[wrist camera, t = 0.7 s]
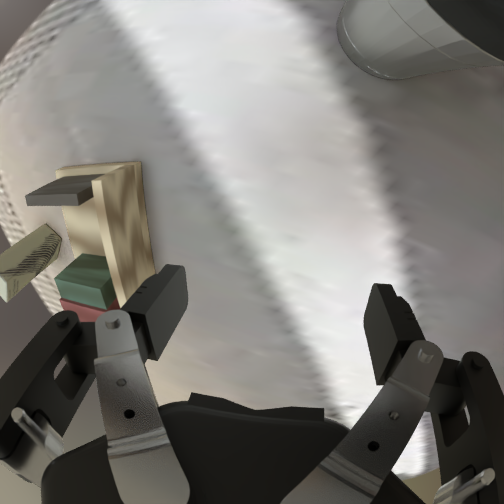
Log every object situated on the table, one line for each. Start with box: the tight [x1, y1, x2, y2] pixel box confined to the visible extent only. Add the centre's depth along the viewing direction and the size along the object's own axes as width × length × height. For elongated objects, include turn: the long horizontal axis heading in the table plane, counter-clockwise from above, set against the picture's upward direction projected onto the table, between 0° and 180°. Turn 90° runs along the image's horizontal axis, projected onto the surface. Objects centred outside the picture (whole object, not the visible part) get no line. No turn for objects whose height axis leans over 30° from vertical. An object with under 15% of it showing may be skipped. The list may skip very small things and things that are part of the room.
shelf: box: [25, 162, 155, 322], centre depth 31 cm, size 21×13×8 cm, turn 179°
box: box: [0, 224, 61, 302], centre depth 31 cm, size 5×4×13 cm
